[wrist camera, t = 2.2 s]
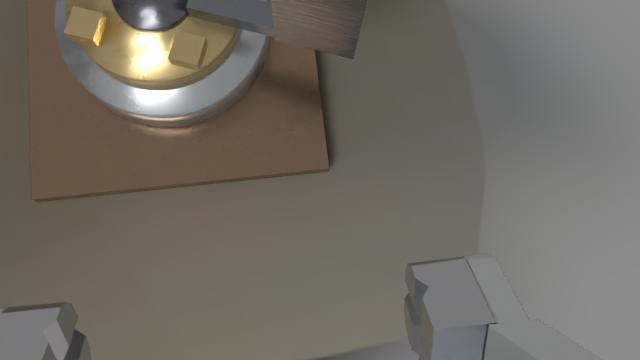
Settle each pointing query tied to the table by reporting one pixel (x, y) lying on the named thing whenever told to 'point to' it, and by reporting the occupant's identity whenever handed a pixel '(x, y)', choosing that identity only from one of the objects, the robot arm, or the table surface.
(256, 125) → the housing
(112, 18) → the grey and yellow model
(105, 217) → the table surface
